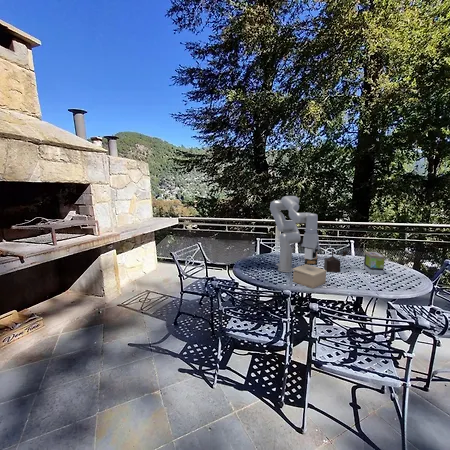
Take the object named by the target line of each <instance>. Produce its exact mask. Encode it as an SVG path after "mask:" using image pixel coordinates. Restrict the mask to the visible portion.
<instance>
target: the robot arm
mask: <svg viewBox="0 0 450 450" xmlns="http://www.w3.org/2000/svg"><path fill="white" fill-rule="evenodd" d="M299 204H300V199H299V196H296V195H285V196H282V197H281V199H277V200H276V199H275V200H272V201H270V204H269V205H270V206H269V209H270V213H271V215H272V217H273V219H274V222H275V225H276V227H277V231H279V232H280V234H279V235H278V240H279V262H278V263H276V264H275V265H276V266H277V271H278V272H282V273H292V272H293V271H294V270H293V267H292V266H293V265H292V263H293V248H292V246H291V244H293V245H294V244H298V243H300V242H301V237H302V236H301V233H300V231H299V228H298V226H297V224H305V228H304V230H303V231H305V232H304V234H303V238H302V243H301V245H300V246H301V247H302V249H303V251H305V248H313V258H315V257H316V252H317V253H318V251H320V250H321V249H322V246H320V241H319V239H320V238H319V233H318V220H319V219H318V214H317V213H311V212H298V211H299V209H300V205H299ZM286 210H287V211H288V217H289V219H288V220H287V219H286V217H285V214H283V212H282V211H286Z"/></svg>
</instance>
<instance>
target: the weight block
mask: <svg viewBox="0 0 450 450" xmlns="http://www.w3.org/2000/svg"><path fill="white" fill-rule="evenodd" d="M316 253H317V254H318V251H317V252H316ZM303 258H304V259H305V258H306V259H310V260H311V259H314V258H313V248H305V250H304V257H303ZM315 258H316V257H315Z"/></svg>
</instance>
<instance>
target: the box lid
mask: <svg viewBox="0 0 450 450" xmlns="http://www.w3.org/2000/svg"><path fill="white" fill-rule="evenodd" d="M292 268H293V267H292ZM293 271H297V272H300V273H303V274H306V275H309V276H312V277H315V276H317V275H320V274H322V273H324V272H326V271H327V270H325V269H324V268H320V267H317V266H315V265H307V264H305V263H304V264H302V265H299V266H296V267H294V268H293ZM326 273H327V272H326Z"/></svg>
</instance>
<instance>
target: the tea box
mask: <svg viewBox="0 0 450 450" xmlns="http://www.w3.org/2000/svg"><path fill="white" fill-rule="evenodd" d="M385 259H386V256H385V255H383V254H381V253H380V252H377V251H364V259H363V269H364V270H365V271H366V272H367V273H368V274H371V275H382V276H383V275H384V270H385V269H384V268H385V261H386V260H385Z"/></svg>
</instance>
